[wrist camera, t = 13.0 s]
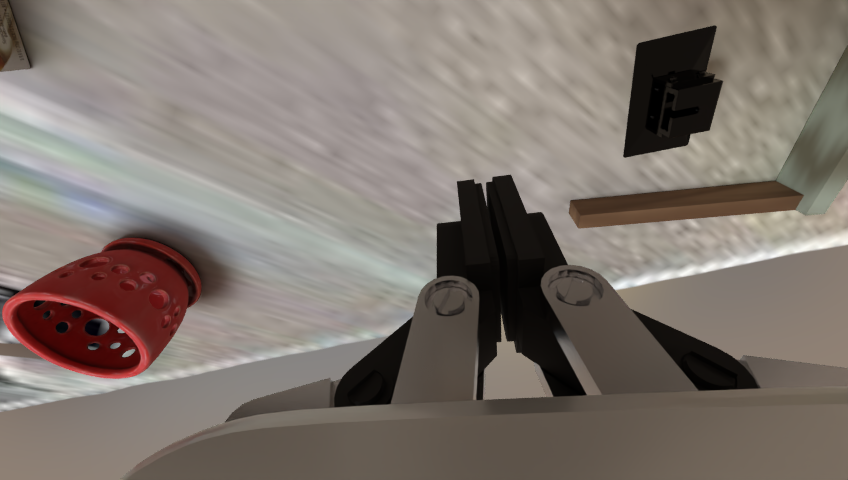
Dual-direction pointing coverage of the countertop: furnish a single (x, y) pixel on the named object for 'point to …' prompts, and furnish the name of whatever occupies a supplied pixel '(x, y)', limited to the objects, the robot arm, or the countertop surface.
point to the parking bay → (793, 189)
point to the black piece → (671, 92)
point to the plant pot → (107, 308)
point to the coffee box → (10, 42)
